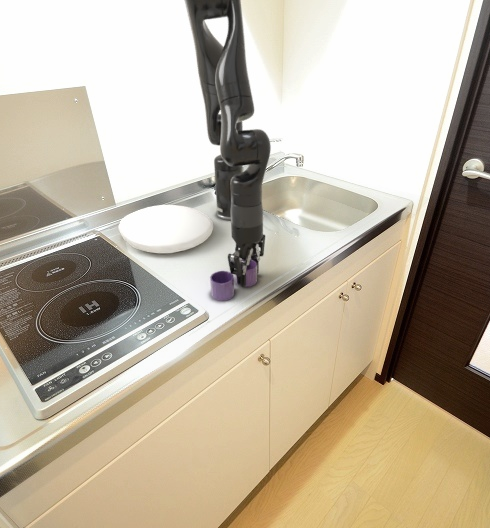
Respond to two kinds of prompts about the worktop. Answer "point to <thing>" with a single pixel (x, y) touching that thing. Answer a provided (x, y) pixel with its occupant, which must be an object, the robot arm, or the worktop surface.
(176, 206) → the plate
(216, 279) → the ramekin
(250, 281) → the ramekin
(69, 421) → the worktop surface
